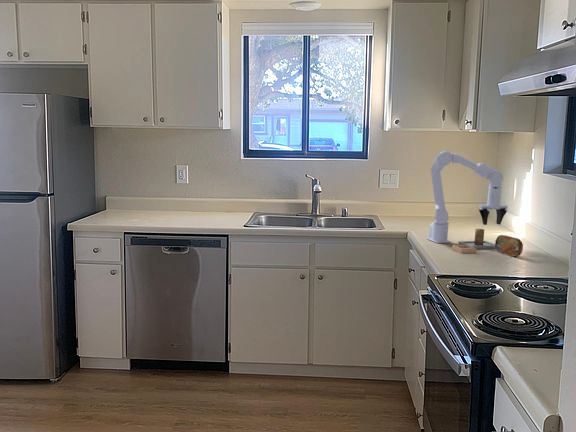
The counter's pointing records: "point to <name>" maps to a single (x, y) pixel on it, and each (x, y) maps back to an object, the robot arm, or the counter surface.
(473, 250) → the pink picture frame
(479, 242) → the brown rounded cylinder
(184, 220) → the counter surface
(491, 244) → the tray
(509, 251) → the tin
